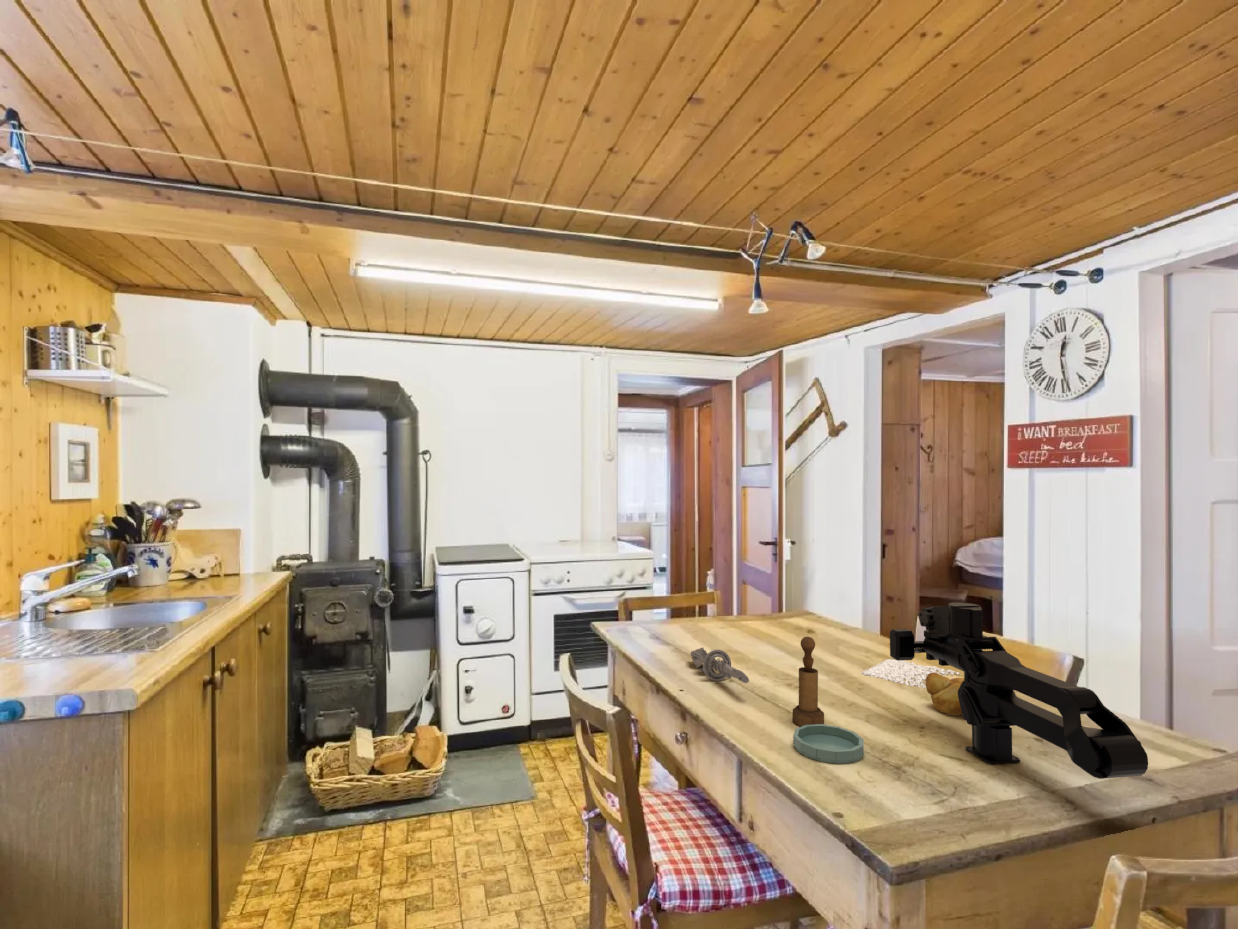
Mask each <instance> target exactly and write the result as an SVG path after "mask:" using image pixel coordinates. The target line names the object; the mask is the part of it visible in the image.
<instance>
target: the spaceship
mask: <svg viewBox="0 0 1238 929" xmlns="http://www.w3.org/2000/svg"><path fill="white" fill-rule="evenodd" d="M689 654H690V656H691V660H692V662H693V664H694V666H695V667H696V669H697V671H698V672H700V673H702V672H703V673H704V674H705V676H706V677H707V679H708V680H711V681H713V682H720V681H724V680H725V679H726V678H728V679H731V678H735V679H737V680H738V681H740V682H742V683H744V684H747V683H749V682H750V679H749V677H748V676H747V674H746V673H745V672H743V671H742V670H741V669H737V668H735V667H732V661H731V658H730V655H729V654H728V653H727V652H725V650H722V649H718V648H717V649H713V650H710V651H709V652H708V653H707V651H706V649H704V647H700V648H697V649H695V650H691V652H689ZM701 666H702V667H701ZM699 667H701V668H699ZM717 671H718V672H719V673H718V674H717Z"/></svg>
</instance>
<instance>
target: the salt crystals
mask: <svg viewBox="0 0 1238 929" xmlns="http://www.w3.org/2000/svg"><path fill="white" fill-rule="evenodd" d="M934 672H935V673H938V674H940V675H942V676H944V677H947V676H948V675H950V676H952V678H951V679H953V678H954V677H953V676H959V675H960V672H959V671H955V670H952V669H947V670H946V669H945V668H939V667H937V666H934V665H931V666H929V665H926V666H925V665H922V664H916V663H915V661H914V662H913V661H912V662H911V661H907V660H900V661H897V660H895V659H893V658H891V659H890V658H887V659H885V660H882V661H880V662H879V663H877V664H875V665H874V666H871V667H868V668H867V669H865V670H862V671H861V672H860V674H861V675H864V676H868V677H871V678H876V679H882V680H885V681H890V682H893V683H900V684H901V685H906V686H911V687H917V688H924V689H926V685H925V684H926V677H927V675H928V674H930V673H934ZM947 678H948V677H947Z"/></svg>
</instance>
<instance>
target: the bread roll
mask: <svg viewBox="0 0 1238 929" xmlns="http://www.w3.org/2000/svg"><path fill="white" fill-rule="evenodd" d="M938 673H939V672H938ZM938 673H935V672H934V673H930V674H928V675H927V676H926V680H925V681H926V683H925V686H926V688H925V689H926V692H927V693H928V694H929V695H930V698H931V701H932V704H933V706H934V707H935V709H936V710H937V711H939V712H941V713H943V714H947V715H950V716H953V717H954V716H960V715H961V716H962V711H961V707H960V703H959V698H958V689H959V688H960V685H961V683H962V681H964V678H962V677H952V678H953V679H952V678H951V679H950V678H947V676H945V675H944V676H945V677H944V676H942V674H941V673H939V674H938Z"/></svg>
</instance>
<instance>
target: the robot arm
mask: <svg viewBox="0 0 1238 929" xmlns="http://www.w3.org/2000/svg"><path fill="white" fill-rule="evenodd" d="M921 610H922V611H920V612H919V613H918V620H919V624H920V626H921V627H924V628H925V629H926V630H923V637H924V639H923V640H921V641H920V640H917V641H915V634H914V633H913V631H912V630H911V629H907V628H892V629H891V630H890V631H889V656H890V657H891V659H893V660H897V661H902V660H903V661H913V659H915V657H916V656H915V655H916V654H925V659H926V660H928V661H938V666H941V667H944V666H945V667H946V666H947V667H948V666H950V667H953V668H954V669H957V670H959V671H962V672H963V677H964V681H962V683H961V685H960V688H959V689H958V698H959V703H960V707H961V711H962V715H961V716H962V719H963V720H964V721H966V723H967V724H968V725H971V743H972V744H971V746H965V750H966V751H968V752H969V753H971V754H972V755H973V756H976V757H977V758H979V759H980V760H983V762H985V763H986V764H990V765H994V764H995V765H996V764H1007V763H1020V762H1021V758H1019V757H1017V756H1016V755H1014V754H1013V728H1012V726H1013V727H1015V726H1017V727H1018V728H1021V729H1022V730H1024V731H1026V732H1028V733H1031V734H1033V735H1034V736H1036V737H1038V738H1040V739H1042V740H1044V741H1045V742H1049V743H1050V744H1053V745H1055V746H1057V747H1058V748H1061V750H1064V751H1066V752H1067V754H1068V756H1069V757H1070V760H1071V761H1072V763H1074V765H1076V766H1077V767H1079V768H1080V769H1082V770H1083V771H1084V772H1086V773H1087V774H1088V775H1089V776H1091V777H1093V778H1096V779H1098V780H1099V779H1101V780H1102V779H1103V780H1104V779H1115V778H1116V779H1117V778H1130V777H1141V776H1143V775H1144V774H1146V772H1147V771H1148V768H1149V758H1148V754H1147V752H1146V750H1145V748H1144V747H1143V745H1142V743H1141V741H1140V740H1138V739H1137V737H1136V735H1135V734H1134V732H1133V731H1132V729H1131V728H1130V727H1129V725H1128V724H1127V723H1126V722H1125V721H1123V719H1121V718H1120V717H1118V715H1116V714H1115V713H1114V712H1113V711H1112V710H1110V709H1108V708H1107V707H1106V706H1105V705H1104V704H1103V702H1102V701H1101V699H1100V697H1099V696H1098V695H1097V694H1096V693H1095V691H1093V690H1091V689H1090V688H1087V687H1084V686H1077V685H1075V684H1072V683H1070V682H1067V681H1064V680H1062V679H1059V678H1056V677H1054V676H1052V675H1048V674H1046V673H1043V672H1041V671H1038V670H1034V669H1032V668H1029V667H1026V666H1025V665H1023V664H1022V662H1021V661H1020V659H1019V658H1018V657H1015V656H1014V655H1013V654H1011V653H1009V652H1007V650H1006V649H1005V648H1004V646H1003V645H1002V643H1001V642H1000V641H999V640H998V638H997V636H987V635H984V632H983V631H984V630H983V629H984V628H983V621H984V620H983V619H984V610H983V609H982V607H981V606H980V604H977V603H976V604H975V603H969V602H950V603H948V605H944V606H943V605H940V606H939V605H937V606H936V605H935V606H931V607H925V608H924V607H922V609H921ZM1016 692H1018V693H1020V694H1022V695H1025V696H1027V697H1029V698H1031V699H1033V700H1036V701H1038V702H1041V703H1043V704H1045V705H1049V706H1050V707H1052V708H1055V709H1057V711H1058V712H1059V714H1060V715H1058V714H1056V713H1054V712H1052V711H1050V710H1047V709H1046V708H1043V707H1040V706H1039V705H1036V704H1033V703H1032V702H1029V701H1027V700H1025V699H1022V698H1020V697H1018V696H1017V695H1016V694H1017V693H1016ZM1081 715H1086V716H1087V718H1089V720H1091V721H1092V722H1093V723H1094V724H1096V725H1097V726H1098V727H1099V728H1096V727H1088V726H1084V725H1083V724H1082V718H1081Z"/></svg>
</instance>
